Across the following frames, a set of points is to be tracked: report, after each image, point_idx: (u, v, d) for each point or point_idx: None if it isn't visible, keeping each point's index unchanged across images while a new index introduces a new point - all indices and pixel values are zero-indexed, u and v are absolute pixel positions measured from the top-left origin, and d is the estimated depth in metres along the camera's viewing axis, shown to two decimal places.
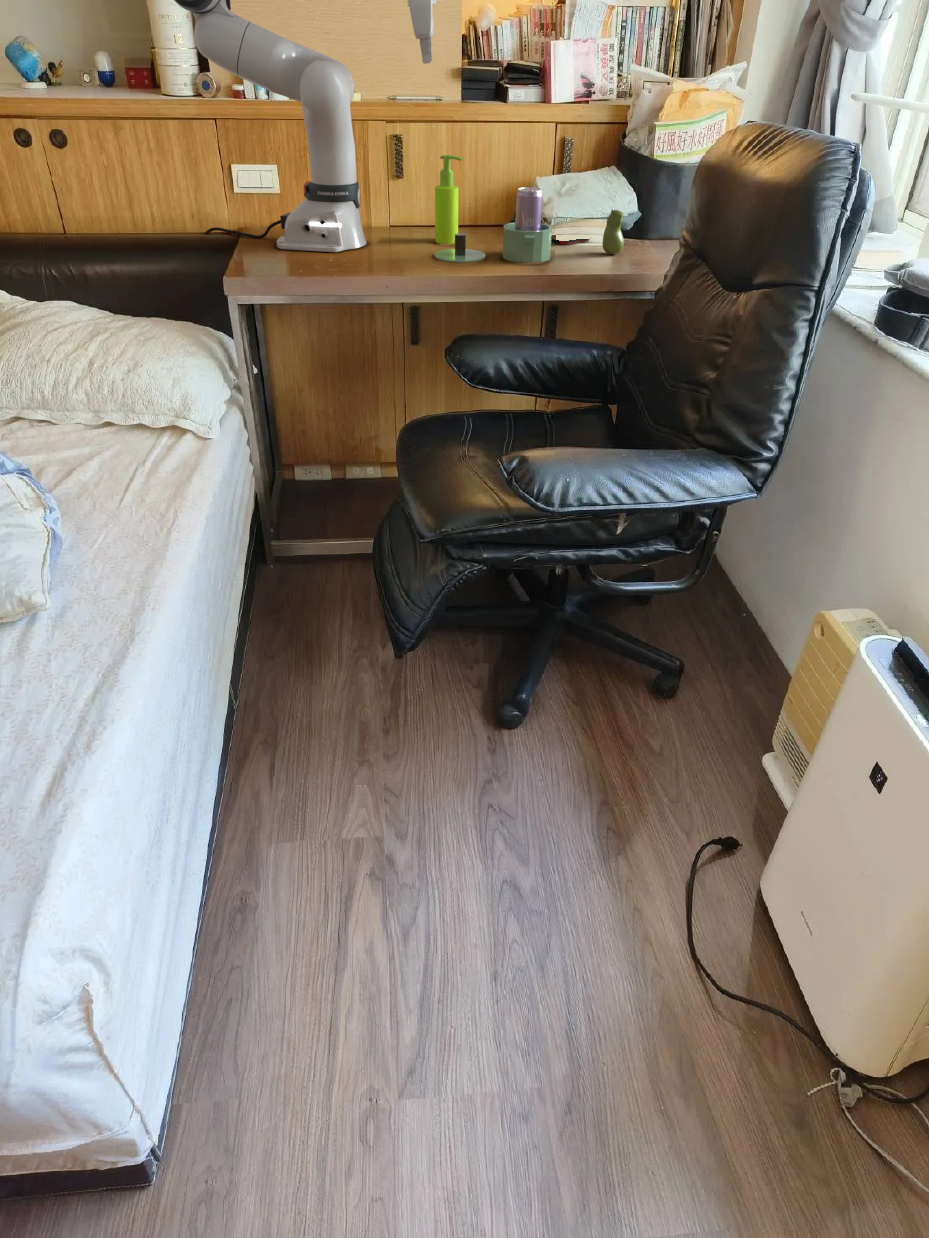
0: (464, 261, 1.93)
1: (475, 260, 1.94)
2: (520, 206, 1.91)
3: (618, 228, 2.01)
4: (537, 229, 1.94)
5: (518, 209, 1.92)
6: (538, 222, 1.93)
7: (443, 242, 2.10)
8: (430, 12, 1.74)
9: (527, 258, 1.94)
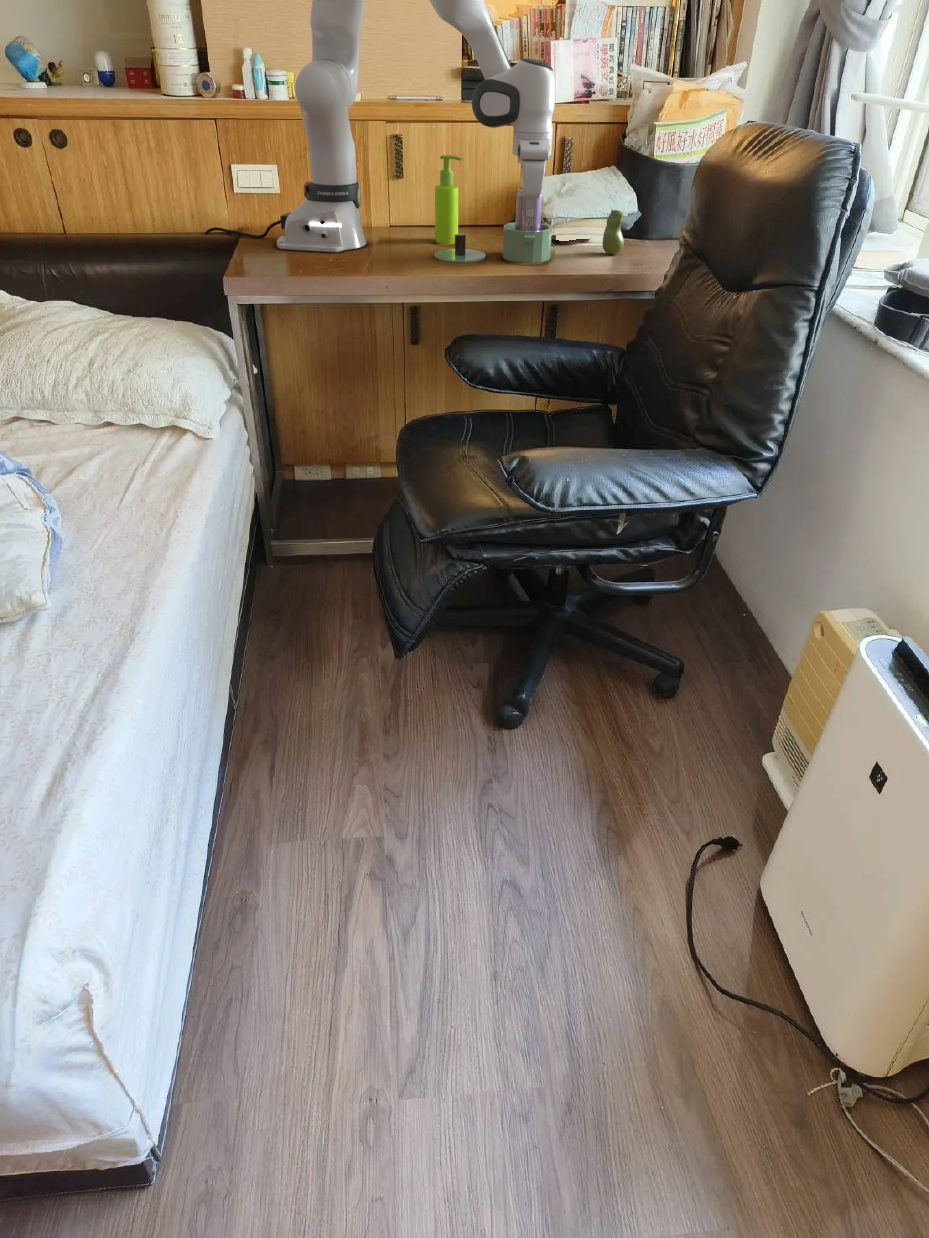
0: (464, 261, 1.93)
1: (475, 260, 1.94)
2: (520, 206, 1.91)
3: (618, 228, 2.01)
4: (537, 229, 1.94)
5: (518, 209, 1.92)
6: (538, 222, 1.93)
7: (443, 242, 2.10)
8: (542, 177, 1.81)
9: (527, 258, 1.94)
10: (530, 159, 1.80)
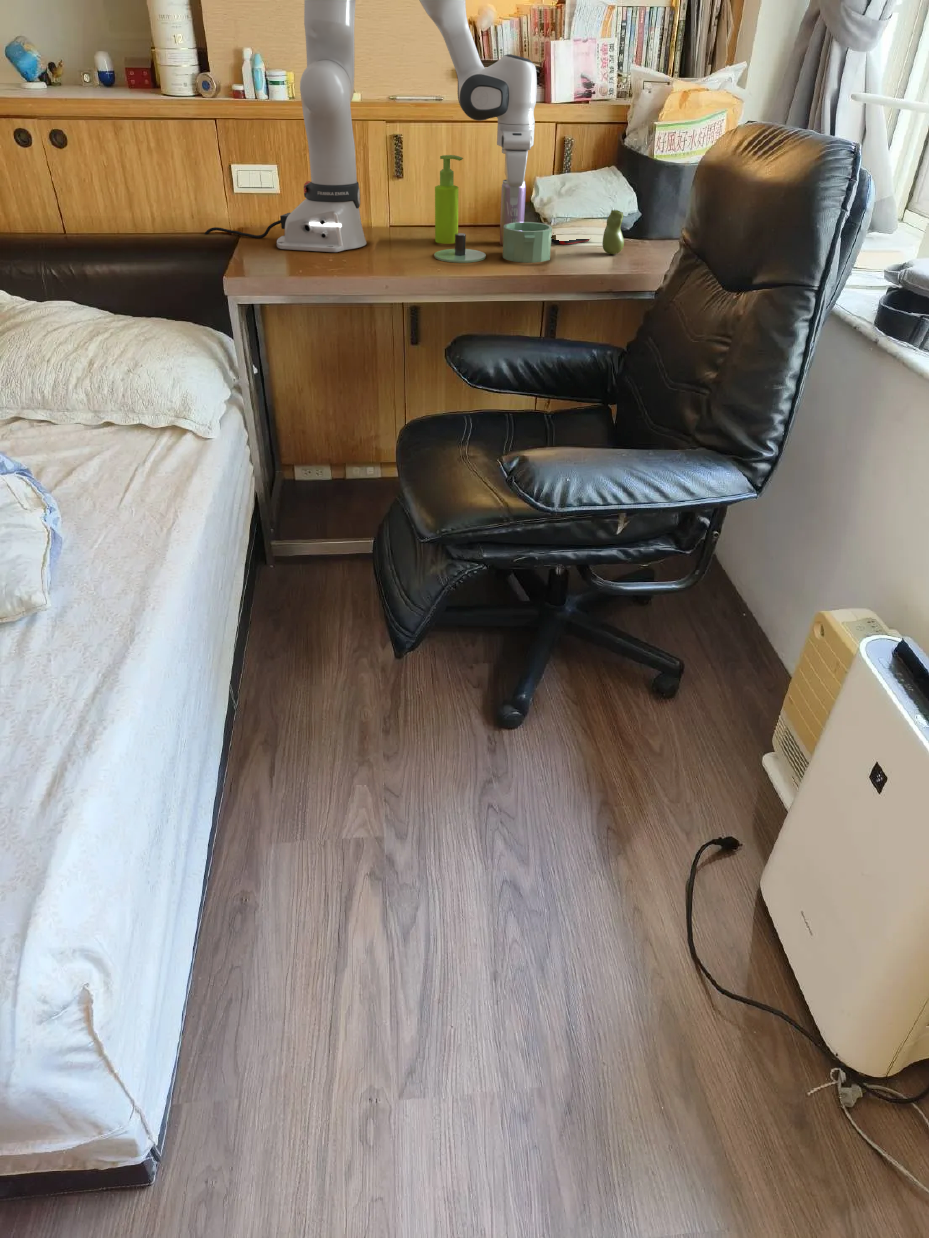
0: (464, 261, 1.93)
1: (475, 260, 1.94)
2: (505, 197, 2.03)
3: (618, 228, 2.01)
4: (521, 219, 2.05)
5: (503, 200, 2.03)
6: (522, 212, 2.05)
7: (443, 242, 2.10)
8: (524, 166, 1.92)
9: (527, 258, 1.94)
10: (513, 149, 1.91)
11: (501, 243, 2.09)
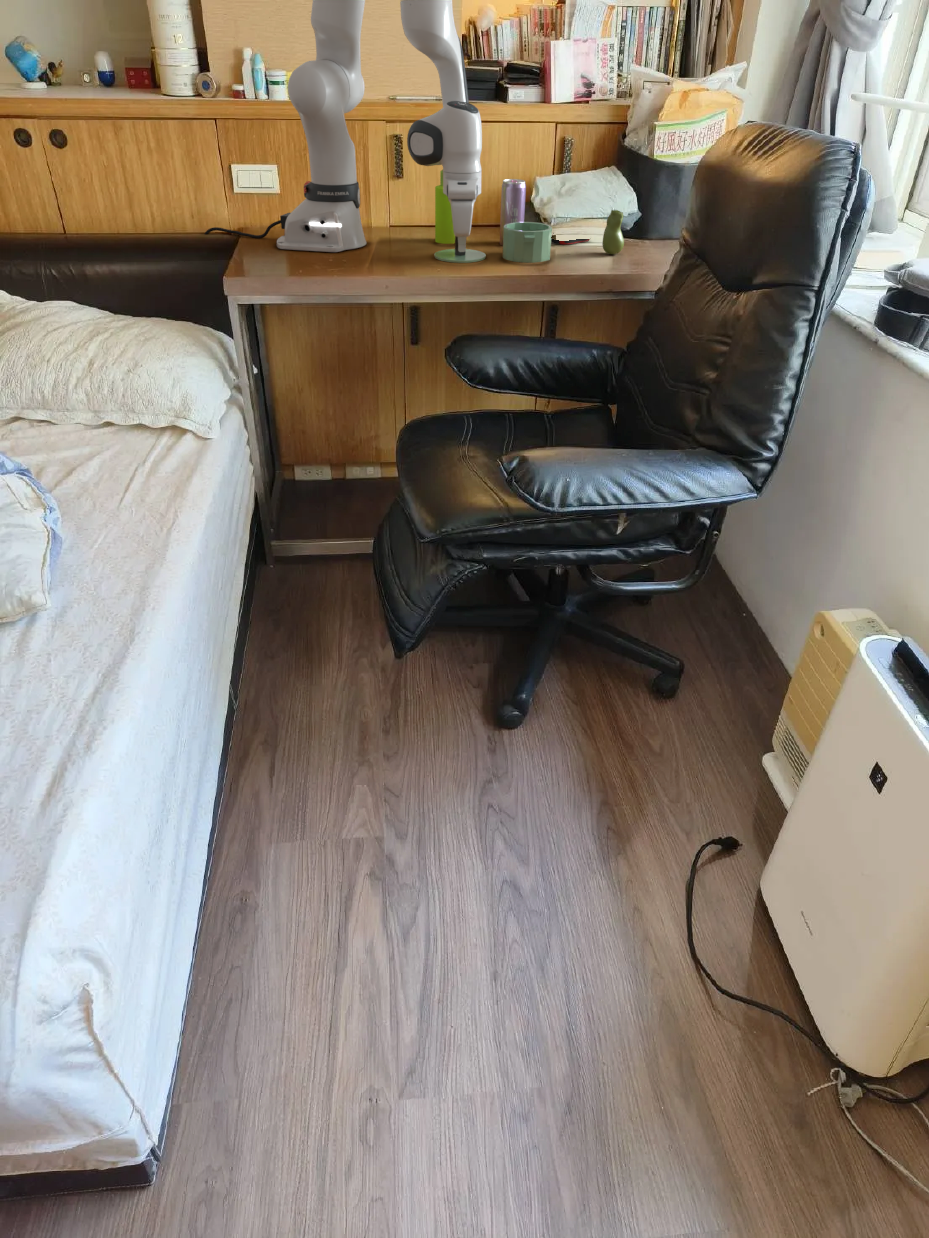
0: (464, 261, 1.93)
1: (475, 260, 1.94)
2: (505, 197, 2.03)
3: (618, 228, 2.01)
4: (521, 219, 2.05)
5: (503, 200, 2.03)
6: (522, 212, 2.05)
7: (443, 242, 2.10)
8: (470, 216, 1.84)
9: (527, 258, 1.94)
10: (458, 199, 1.83)
11: (501, 243, 2.09)
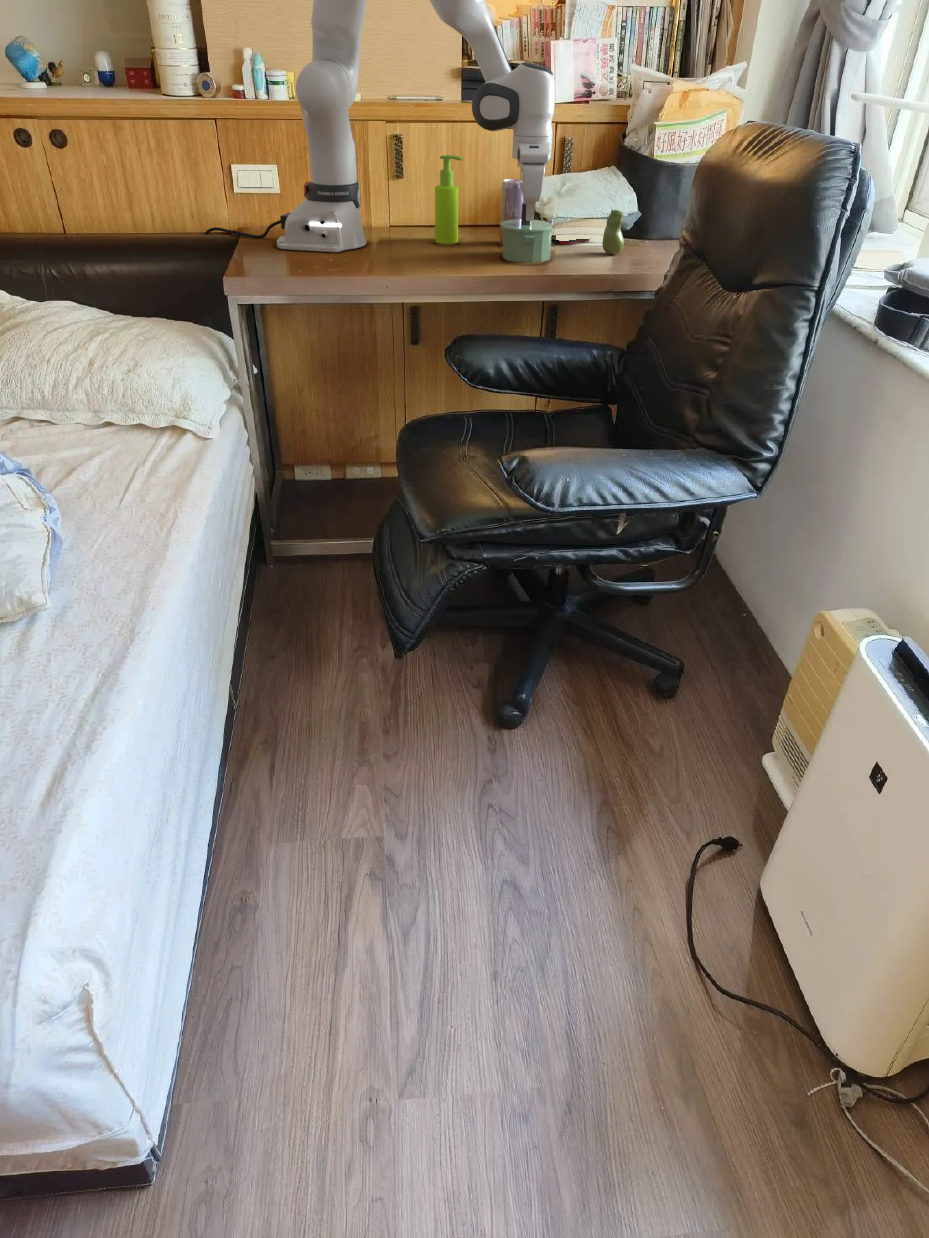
0: (532, 230, 1.90)
1: (543, 229, 1.91)
2: (505, 197, 2.03)
3: (618, 228, 2.01)
4: None
5: (503, 200, 2.03)
6: None
7: (443, 242, 2.10)
8: (542, 180, 1.81)
9: (527, 258, 1.94)
10: (530, 163, 1.80)
11: (501, 243, 2.09)
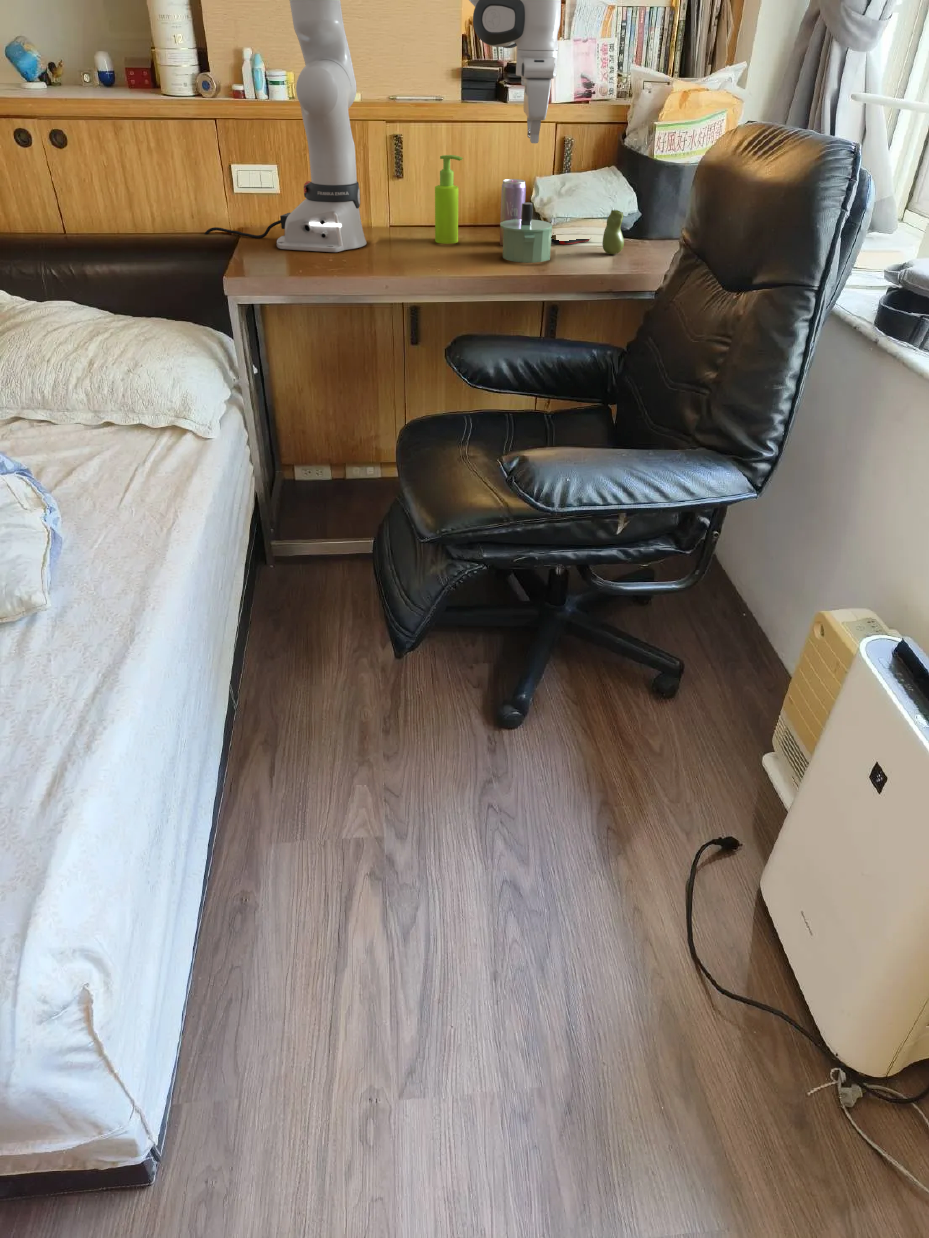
0: (532, 230, 1.90)
1: (543, 229, 1.91)
2: (505, 197, 2.03)
3: (618, 228, 2.01)
4: None
5: (503, 200, 2.03)
6: None
7: (443, 242, 2.10)
8: (547, 96, 1.72)
9: (527, 258, 1.94)
10: (535, 77, 1.71)
11: (501, 243, 2.09)
